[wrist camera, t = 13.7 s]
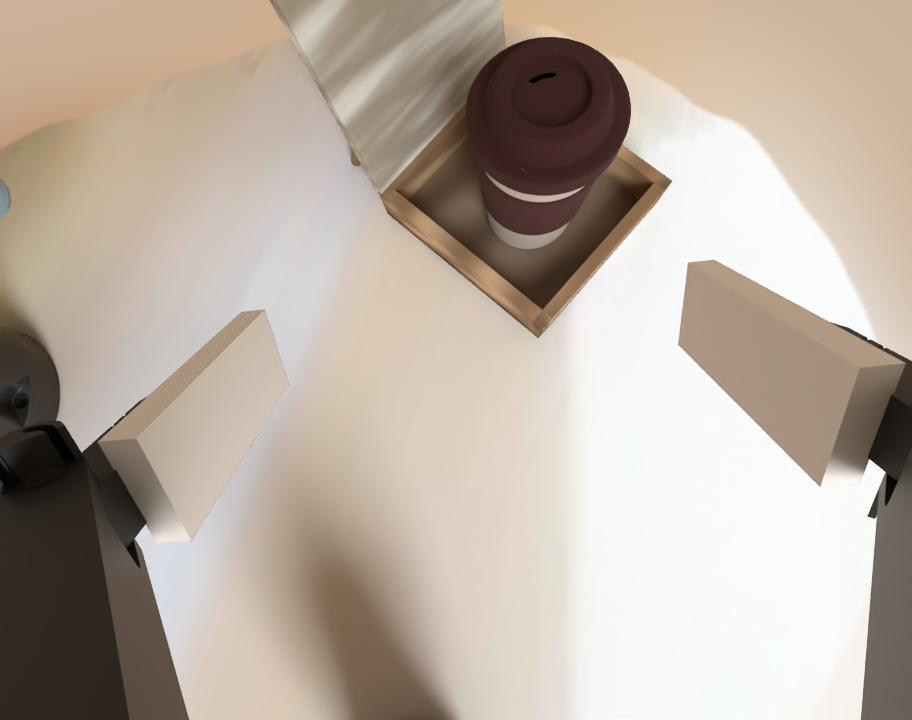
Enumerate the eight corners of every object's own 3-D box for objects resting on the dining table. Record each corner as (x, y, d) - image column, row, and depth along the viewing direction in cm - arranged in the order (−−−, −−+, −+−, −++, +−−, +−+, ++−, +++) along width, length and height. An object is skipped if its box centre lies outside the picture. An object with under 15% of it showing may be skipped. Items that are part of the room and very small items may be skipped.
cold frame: (339, 174, 44) (195, -82, 22) (450, 57, 45) (417, -294, 23) (538, 338, 40) (599, 225, 18) (653, 206, 41) (839, -47, 20)
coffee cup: (567, 279, 40) (615, 187, 25) (458, 249, 41) (442, 145, 26) (597, 176, 41) (659, 31, 26) (490, 150, 42) (492, -3, 27)
